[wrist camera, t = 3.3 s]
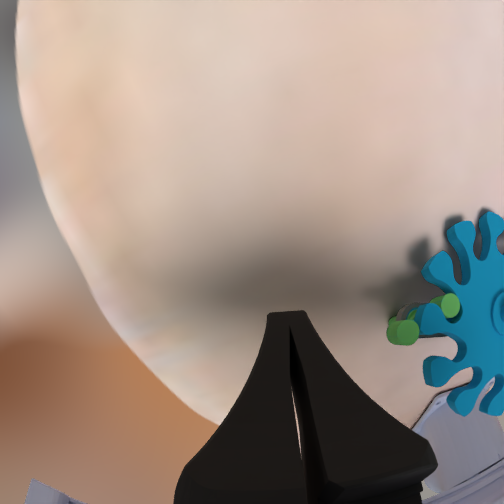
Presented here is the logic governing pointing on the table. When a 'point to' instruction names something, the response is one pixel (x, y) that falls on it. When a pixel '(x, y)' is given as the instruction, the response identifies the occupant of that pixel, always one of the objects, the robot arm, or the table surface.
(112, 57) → the table surface
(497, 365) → the gear
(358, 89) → the table surface
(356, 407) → the robot arm
